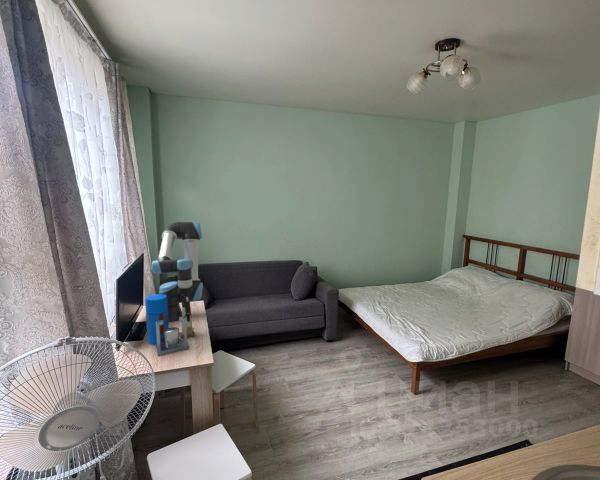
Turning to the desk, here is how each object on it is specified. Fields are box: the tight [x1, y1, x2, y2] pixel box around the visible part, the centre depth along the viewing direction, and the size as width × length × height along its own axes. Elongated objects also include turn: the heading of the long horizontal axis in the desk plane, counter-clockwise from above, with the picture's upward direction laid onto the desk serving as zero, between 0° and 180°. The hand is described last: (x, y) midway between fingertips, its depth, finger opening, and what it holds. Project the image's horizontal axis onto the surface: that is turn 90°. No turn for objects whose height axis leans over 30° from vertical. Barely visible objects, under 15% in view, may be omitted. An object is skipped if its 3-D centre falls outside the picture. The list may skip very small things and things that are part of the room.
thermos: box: [145, 293, 170, 346], centre depth 168 cm, size 11×11×25 cm
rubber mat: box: [179, 329, 196, 339], centre depth 176 cm, size 8×8×1 cm
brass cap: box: [179, 316, 195, 338], centre depth 175 cm, size 11×7×9 cm, turn 163°
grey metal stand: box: [155, 316, 190, 357], centre depth 160 cm, size 11×15×16 cm
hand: (186, 322), depth 175 cm, fingers open, 13 cm apart
